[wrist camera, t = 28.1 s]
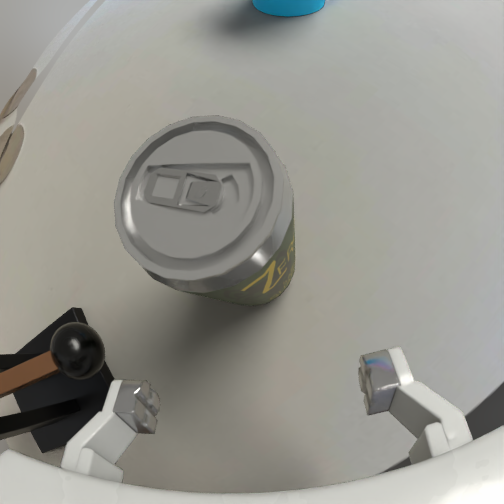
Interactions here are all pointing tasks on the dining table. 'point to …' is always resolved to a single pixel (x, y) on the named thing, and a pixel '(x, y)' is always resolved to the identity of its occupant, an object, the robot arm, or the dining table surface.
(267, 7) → the mug
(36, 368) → the lever
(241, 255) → the green drink can
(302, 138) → the dining table surface
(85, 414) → the bracket
